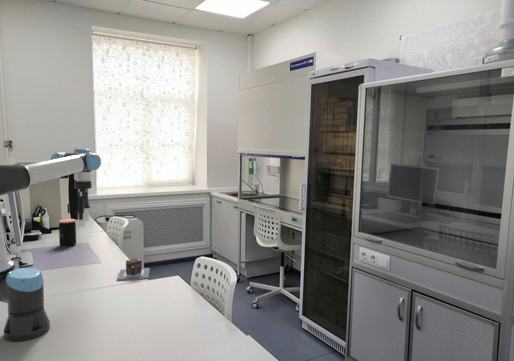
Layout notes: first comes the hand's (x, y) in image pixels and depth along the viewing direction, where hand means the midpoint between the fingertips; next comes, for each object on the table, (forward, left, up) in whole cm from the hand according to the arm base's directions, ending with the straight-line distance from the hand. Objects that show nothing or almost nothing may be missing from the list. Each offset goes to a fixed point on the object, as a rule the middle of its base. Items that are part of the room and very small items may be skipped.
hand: (83, 223), depth 183 cm
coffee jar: (+89, +29, -33) cm, 100 cm away
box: (+16, -22, -32) cm, 42 cm away
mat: (+16, -22, -33) cm, 43 cm away
